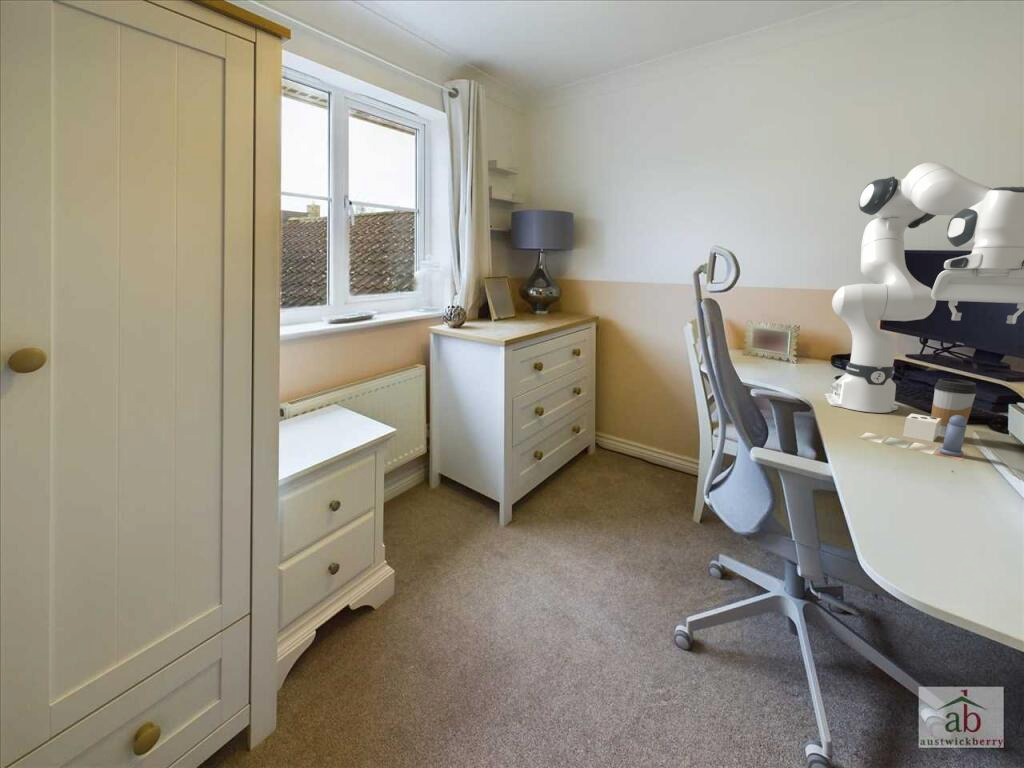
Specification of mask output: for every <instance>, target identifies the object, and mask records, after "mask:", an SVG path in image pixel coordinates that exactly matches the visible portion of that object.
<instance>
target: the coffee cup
mask: <svg viewBox="0 0 1024 768" xmlns="http://www.w3.org/2000/svg"><path fill="white" fill-rule="evenodd" d="M933 389H934V393H933V401H932V405H931V406H932V408H931V413H930V414H931V415H930V417H935V418H941V422H940V427H939V432H938V435H940V436H944V437H945V434H946V430H947V425H948V423H949V419H950V418H951V417H952V416H954V415H961V416H963V417H965V419H966V420H967V422H968V421H969V418H970V414H971V412H972V409H973V404H974V401H975V397H976V395H977V394H978V391H977V390H978V387H977V383H976V382H973V381H969V380H964V379H956V378H955V379H954V378H938V380H937V382H935V385H934V387H933ZM965 426H967V424H966V425H965Z"/></svg>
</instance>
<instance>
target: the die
mask: <svg viewBox="0 0 1024 768" xmlns="http://www.w3.org/2000/svg"><path fill="white" fill-rule="evenodd" d="M940 422H941V418H935V417H931V416H929V415H928V416H927V415H924V414H917V413H910V414H909V415H908V416H906V417H905V423H904V428H903V434H902V436H903V437H908V438H912V439H918V440H921V441H922V440H923V441H928V442H934V441H936V439H937V438H938V435H939V434H938V432H939V427H940Z"/></svg>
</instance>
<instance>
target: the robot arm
mask: <svg viewBox="0 0 1024 768" xmlns="http://www.w3.org/2000/svg"><path fill="white" fill-rule="evenodd" d="M858 207H859V210H860V211H861V212H862V213H864V214H866V215H870V216H876V217H877V218H875V219H873V220H871V221H870V222H868V224H867V225H866V226H865V228H864V231H863V234H862V235H863V236H862V238H861V246H860V272H861V274H862V276H863V277H864V278H865V279H866V280H868V281H870V282H873V283H853V284H849V285H842V286H841V287H840V288H838V289H837V291H835V292H834V295H833V297H832V298H831V299H832V300H831V306H832V310H833V313H834V314H835V315H837V316H838V317H839V318H840V319H841V320H843V322H845V324H846V325H847V327H848V328H849V331H850V333H851V342H852V343H851V353H850V361H849V362H848V363H847V365H846V368H845V373H844V374H843V375H842V376H840V377H839V378H838V379H837V380H836V381H835V382H832V383H831V385H830V390H832V391H833V392H827V393H824V397H825V396H826V397H825V399H826V398H827V399H826V400H827V402H828V403H829V405H830V406H834V407H839V408H843V409H844V408H845V409H847V410H848V409H849V410H853V411H859V412H864V413H865V412H866V413H877V414H878V413H879V414H881V413H883V414H885V413H890V412H893V411H898V410H899V406H898V405H895V400H896V389H897V384H896V382H894V381H893V379H892V378H893V377H894V374H895V366H894V363H895V356H896V352H897V351H896V350H897V346H898V343H897V340H896V339H895V337H894V336H892V334H891V335H890V334H889V333H887V332H885V331H883V330H882V329H879V328H878V326H877V321H894V322H895V321H896V322H897V321H899V322H908V321H916V320H924V319H926V318H928V317H929V316H930V315H931V314H932V313H933V311H934V309H935V308H936V304H937V301H946V302H947V301H948V303H947V304H948V305H947V306H948V307H949V309H950V310H949V311H951V313H952V314H951V321H956V322H957V321H961V317H962V314H963V313H962V312H958V311H957V309H956V307H955V306H958V303H959V302H971V303H972V302H974V303H975V302H976V303H978V302H979V303H999V304H1001V303H1003V304H1017V305H1016V309H1018V310H1017V311H1016V312H1015V313H1014V314H1013V315H1012V314H1011V315H1007V317H1006V319H1007V320H1006V322H1005V323H1006V324H1009V325H1015V324H1016V323H1017V319H1018V316H1020V315H1021V314H1022V313H1023V312H1024V186H1000V187H994V188H992V187H989V186H985V185H983V184H981V183H979V182H977V181H974V180H971V179H969V178H968V177H966V176H964V175H962V174H960V173H958V172H957V171H955V170H954V169H953V168H950V167H949V166H946V165H944V164H942V163H937V162H931V161H930V162H929V161H928V162H924V163H921V164H918V165H917V166H915V167H913V168H912V169H911V170H910V171H909V172H908V174H906V176H905V177H904V178H900V179H897V178H895V176H890V177H885V178H880V179H879V178H878V179H875V180H873V181H871V182H869V183H868V184H867V185H866V186H865V187H864V188H863V190H862V192H861V193H860V196H859V200H858ZM936 216H952V217H951V219H949V222H948V224H947V230H946V238H947V240H948V242H949V243H950V244H951V245H952V246H953V247H955V248H961V249H972V250H971V253H970V254H967V255H961V256H959V257H954V258H950V259H947V260H945V261H944V263H943V269H944V270H943V271H941V272H940V273H939V274H938V275H937V277H936V279H935V282H934V284H933V286H932V288H931V287H929V286H927V285H925V284H923V283H922V282H921V281H918V280H917V279H916V278H915V276H913V275H912V274H911V272H910V270H908V268H907V264H906V259H905V258H906V257H905V239H904V238H905V231H906V230H907V228H909V229H916V228H919V226H921V225H923V224H926V223H927V222H929V221H930V220H932V219H934V218H935V217H936ZM897 409H898V410H897Z"/></svg>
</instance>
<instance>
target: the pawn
mask: <svg viewBox="0 0 1024 768" xmlns="http://www.w3.org/2000/svg"><path fill="white" fill-rule="evenodd" d="M967 424H968V421H967V420H966V419H965V417H963V416H961V415H954V416H952V417H951V418H950V419H949V423H948V425H947V430H946V434H945V436H944V440H943V444H942V446H940V447H939V450H940V451H939V450H938V451H939V452H940V453H941V454H944V455H947V456H952V457H962V455H963V452H964V451H963V450H962V448H963V444H964V439H965V434H966V431H967ZM965 425H966V426H965Z"/></svg>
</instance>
